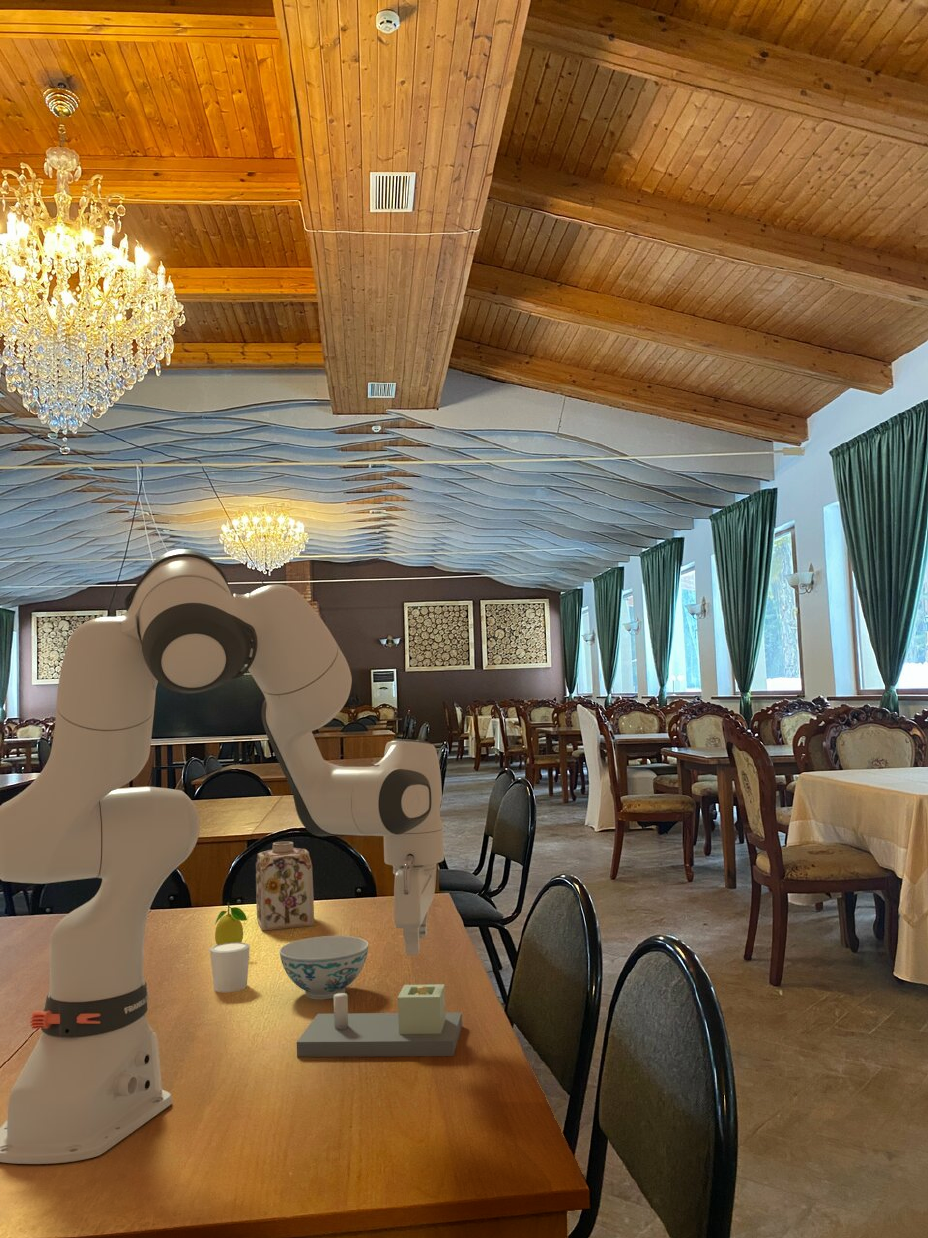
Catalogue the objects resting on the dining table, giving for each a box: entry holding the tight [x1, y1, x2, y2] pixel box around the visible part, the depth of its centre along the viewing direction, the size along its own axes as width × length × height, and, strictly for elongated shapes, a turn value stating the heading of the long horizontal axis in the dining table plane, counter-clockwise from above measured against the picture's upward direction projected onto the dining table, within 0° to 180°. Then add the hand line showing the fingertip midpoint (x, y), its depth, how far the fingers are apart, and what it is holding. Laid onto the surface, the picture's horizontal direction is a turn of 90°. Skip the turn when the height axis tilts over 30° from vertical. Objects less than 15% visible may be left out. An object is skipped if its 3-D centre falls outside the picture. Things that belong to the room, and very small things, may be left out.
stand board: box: [296, 986, 463, 1058], centre depth 139 cm, size 12×22×8 cm, turn 85°
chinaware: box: [279, 935, 369, 1000], centre depth 163 cm, size 15×15×8 cm
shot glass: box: [209, 942, 251, 993], centre depth 169 cm, size 7×7×7 cm
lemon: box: [214, 902, 248, 945], centre depth 192 cm, size 7×6×10 cm
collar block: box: [397, 983, 446, 1034], centre depth 138 cm, size 6×6×5 cm
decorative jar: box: [255, 841, 315, 932], centre depth 217 cm, size 12×12×18 cm
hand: (416, 945), depth 140 cm, fingers open, 8 cm apart
